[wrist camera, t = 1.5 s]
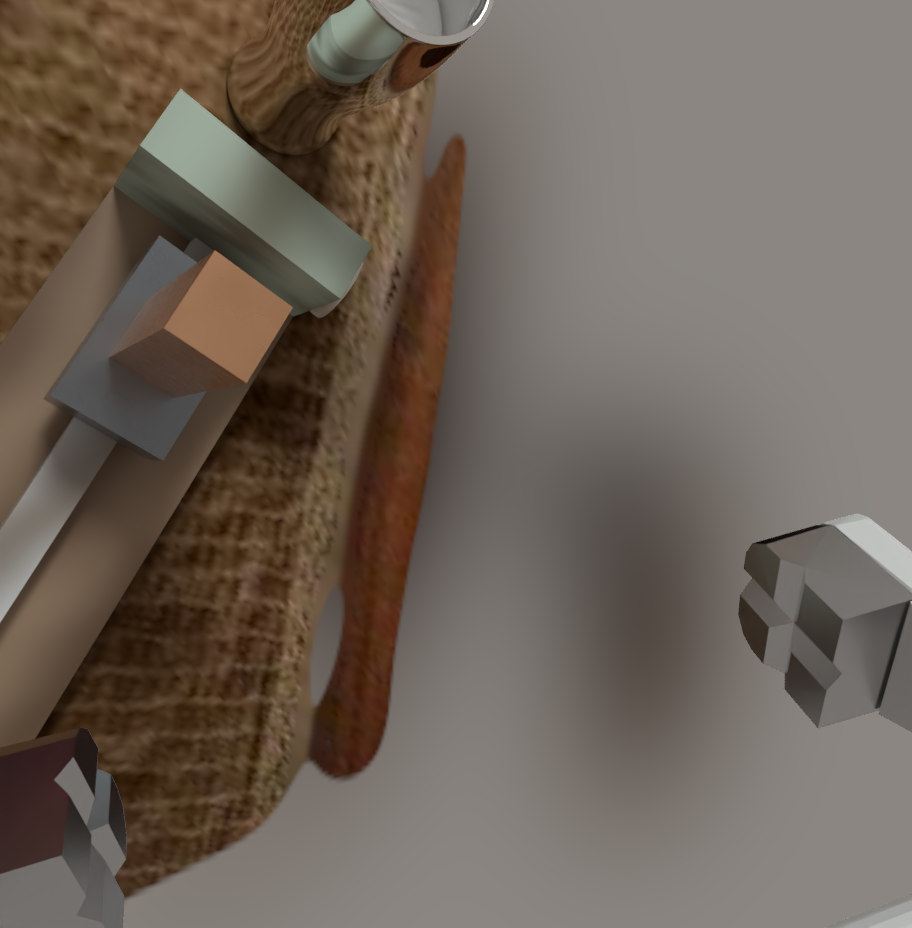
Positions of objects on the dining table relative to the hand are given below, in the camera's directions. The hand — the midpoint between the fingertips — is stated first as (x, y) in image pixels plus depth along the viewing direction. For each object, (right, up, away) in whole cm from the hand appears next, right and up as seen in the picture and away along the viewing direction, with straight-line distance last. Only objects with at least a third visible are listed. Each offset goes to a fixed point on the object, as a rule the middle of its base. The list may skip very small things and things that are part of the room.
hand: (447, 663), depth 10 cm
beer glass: (-9, +22, +34) cm, 41 cm away
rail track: (-18, +2, +28) cm, 34 cm away
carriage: (-14, +7, +27) cm, 32 cm away
